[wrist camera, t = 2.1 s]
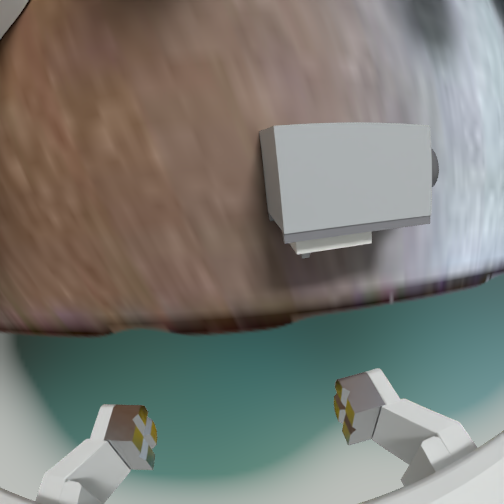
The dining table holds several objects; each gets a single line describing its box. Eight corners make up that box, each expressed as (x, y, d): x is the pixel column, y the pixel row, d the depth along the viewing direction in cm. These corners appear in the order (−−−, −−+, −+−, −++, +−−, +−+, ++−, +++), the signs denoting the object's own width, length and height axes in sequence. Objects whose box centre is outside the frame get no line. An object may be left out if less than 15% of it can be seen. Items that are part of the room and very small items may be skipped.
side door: (284, 242, 26) (297, 262, 22) (282, 217, 26) (295, 233, 21) (348, 233, 27) (371, 250, 22) (347, 209, 26) (371, 223, 21)
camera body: (268, 219, 27) (285, 244, 20) (259, 131, 24) (273, 126, 17) (401, 203, 27) (444, 222, 21) (398, 126, 25) (444, 126, 18)
